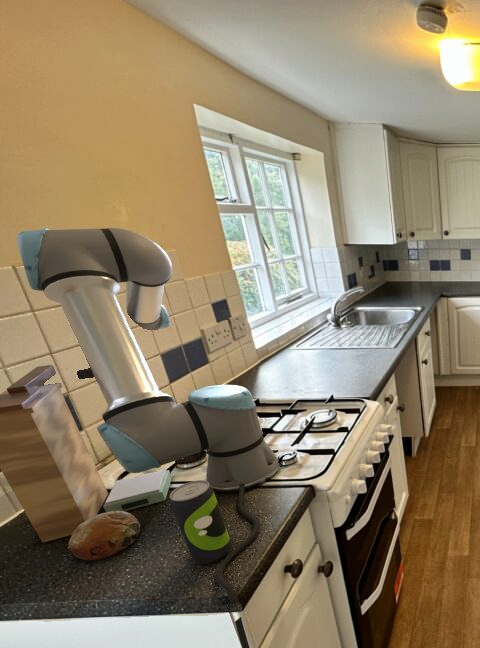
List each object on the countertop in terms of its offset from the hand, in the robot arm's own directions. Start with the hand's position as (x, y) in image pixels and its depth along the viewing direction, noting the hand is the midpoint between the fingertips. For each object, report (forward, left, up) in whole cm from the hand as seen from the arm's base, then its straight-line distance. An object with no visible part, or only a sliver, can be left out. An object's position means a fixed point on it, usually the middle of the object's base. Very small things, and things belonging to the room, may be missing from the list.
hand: (76, 384), depth 94 cm
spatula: (-11, +7, +4) cm, 14 cm away
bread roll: (-31, +5, -24) cm, 40 cm away
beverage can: (-50, -7, -24) cm, 56 cm away
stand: (-15, +8, -24) cm, 30 cm away
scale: (-17, -2, -24) cm, 29 cm away
